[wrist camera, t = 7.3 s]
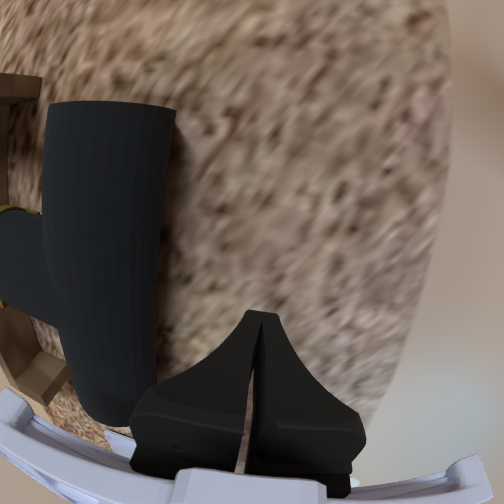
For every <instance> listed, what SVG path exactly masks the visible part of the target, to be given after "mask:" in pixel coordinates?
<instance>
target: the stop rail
mask: <svg viewBox="0 0 504 504" xmlns="http://www.w3.org/2000/svg"><path fill="white" fill-rule="evenodd" d="M41 80H42V77H36V76H28V75H18V74H7V73H0V206H2V205H8V189H7V139H8V124H9V113H10V105H13V104H16V103H20V102H23V101H27V100H31V99H35V98H39V93H40V86H41ZM0 366H1V368H2V370H3V372H4V373H5V375H6V377H7V379H8V381H9V382H10V385H11V386H13V387H14V388H16V389H17V390H19V391H20V392H22V393H24V394H25V395H27V396H28V397H30V398H32V399H33V400H35V401H37V402H38V403H40V404H42V405H44V406H46V407H47V406H48V405H49V403H50V402H51V401H52V399H53V398H54V396H55V395H56V394H57V392H58V391H59V390H60V388H61V387H62V386H63V384H64V383H65V382H66V380H67V379H68V378H69V376H70V372H69V369H68V366H67V363H66V362H65V361H63V360H61V359H59V358H56V357H54V356H52V355H50V354H48V353H46V352H43V351H41V349H40V346H39V343H38V340H37V338H36V335H35V332H34V329H33V326H32V322H31V319H30V316H29V315H28V314H26V313H24V312H22V311H20V310H18V309H16V308H14V307H12V306H10V305H8V306H7V307H6V308H4V309H3V308H1V307H0Z"/></svg>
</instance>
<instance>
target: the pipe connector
mask: <svg viewBox="0 0 504 504" xmlns="http://www.w3.org/2000/svg"><path fill="white" fill-rule="evenodd" d="M176 112H177V111H176V110H173V109H169V108H165V107H160V106H154V105H147V104H139V103H129V102H116V101H71V102H60V103H54V104H50V105H49V107H48V114H47V121H46V129H45V138H44V149H43V165H42V215H40V212H37V211H32V210H28V209H23V208H20V207H16V206H12V205H2V206H0V307H1V308H3V309H4V308H6V307H7V306H8V305H10V306H12V307H14V308H16V309H18V310H20V311H22V312H24V313H26V314H28V315H30V316H32V317H34V318H36V319H38V320H40V321H43V322H45V323H47V324H49V325H51V326H54V327H56V328H57V329H58V333H59V337H60V341H61V345H62V349H63V352H64V356H65V359H66V363H67V366H68V369H69V372H70V375H71V378H72V381H73V384H74V387H75V390H76V393H77V396H78V398H79V401H80V404H81V405H82V407H83V409H84V411H85V412H86V413H87V414H88V415H89V416H90V417H91V418H93V419H94V420H96V421H97V422H99V423H101V424H104V425H108V426H112V427H128V426H129V419H130V417H131V415H132V413H133V411H134V409H135V406H136V404H137V403H138V401H139V400H140V398H141V397H142V395H143V394H144V393H145V391H146V390H147V389H148V388H149V386H151V385H154V384H157V365H156V300H157V274H158V256H159V242H160V230H161V218H162V208H163V199H164V190H165V182H166V174H167V167H168V160H169V153H170V147H171V140H172V134H173V128H174V123H175V117H176Z"/></svg>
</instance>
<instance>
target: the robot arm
mask: <svg viewBox="0 0 504 504" xmlns="http://www.w3.org/2000/svg"><path fill="white" fill-rule="evenodd" d="M253 367H254V373H253V412H252V421H251V428H250V436H249V443H248V449H247V456H246V463H245V469H244V474H240V473H234V471H235V467H236V463H237V458H238V454H239V449H240V445H241V440H242V435H243V430H244V423H245V416H246V406H247V397H248V388H249V383H250V379H251V375H252V371H253ZM129 427H130V429H131V432H132V435H133V438H134V439H132V438H129V437H126V436H124V435H121V434H118V433H116V432H113V431H110V430H107V429H105V431H104V434H105V436H106V438H107V440H108V442H109V444H110V446H111V448H112V450H113V452H111V451H108V450H106V449H103V448H101V447H99V446H96V445H94V444H92V443H90V442H87V441H85V440H83V439H81V438H79V437H77V436H75V435H73V434H71V433H69V432H67V431H65V430H63V429H61V428H59V427H57V426H55V425H54V424H52V423H50V422H48V421H46V420H45V419H43V418H41V417H40V416H38V415H36V414H35V413H34V411H33V409H32V408H31V406H30V405H29V404H28V402H27V401H26V400H25V399H24V398H22V397H21V396H19V395H18V394H16V393H15V392H13V391H12V390H10V389H9V388H5V389H4V390H3V391H2V393H1V394H0V453H1V454H2V455H3V456H4V457H5V458H6V459H7V460H8V461H10V462H11V463H12V464H14V465H15V466H16V467H18V468H19V469H20V470H22V471H23V472H24V473H26V474H27V475H28V476H30V477H31V478H33V479H34V480H36V481H37V482H38V483H40V484H41V485H43V486H44V487H46V488H48V489H49V490H51V491H52V492H54V493H55V494H57V495H58V496H60V497H62V498H63V499H65V500H67V501H69V502H70V503H72V504H484V503H486V502H487V501H488V500H490V499H491V498H493V496H494V495H493V492H492V489H491V486H490V483H489V480H488V477H487V475H486V472H485V469H484V467H483V464H482V461H481V459H480V456H479V454H475V455H472V456H469V457H465V458H463V459H460V460H458V461H456V462H455V463H453V464H452V465H451V466H450V467H449V468H448V469H447V470H446V471H443V472H439V473H435V474H431V475H427V476H423V477H419V478H414V479H410V480H405V481H399V482H394V483H387V484H381V485H373V486H365V487H355V488H351V484H350V476H349V474H351V473H352V463H351V462H352V461H353V460H354V459H355V458H356V457H357V455H358V454H359V453H360V452H361V451H362V450H363V448H364V446H365V444H366V435H365V430H364V427H363V424H362V421H361V419H360V416H359V413H357V412H356V411H354V410H353V409H351V408H350V407H348V406H347V405H345V404H344V403H342V402H341V401H339V400H338V399H337V398H336V397H334V396H333V395H332V394H331V393H329V392H328V391H327V390H326V389H325V388H324V387H323V386H322V385H321V384H320V383H319V382H318V381H317V380H316V379H315V378H314V377H313V376H312V374H311V373H310V372H309V371H308V370H307V368H306V367H305V366H304V364H303V363H302V362H301V360H300V359H299V357H298V355H297V354H296V352H295V351H294V349H293V347H292V345H291V343H290V342H289V340H288V338H287V336H286V334H285V331H284V329H283V327H282V324H281V322H280V319H279V316H278V315H277V314H275V313H268V312H261V311H255V310H247V311H246V312H245V314H244V316H243V318H242V319H241V321H240V322H239V324H238V325H237V327H236V328H235V329H234V330H233V332H232V333H231V334H230V335H229V336H228V337H227V338H226V339H225V340H224V342H223V343H222V344H221V345H220V346H219V347H218V348H216V349H215V350H214V351H213V352H212V353H211V354H209V355H208V356H207V357H206V358H204V359H203V360H201V361H200V362H199V363H197V364H196V365H194V366H193V367H191V368H189V369H188V370H186V371H184V372H182V373H180V374H178V375H176V376H174V377H172V378H170V379H168V380H165V381H162V382H160V383H157V384H154V385H151V386H149V388H148V389H147V390H146V391H145V393H144V394H143V395H142V397H141V398H140V400H139V401H138V403H137V404H136V406H135V409H134V411H133V413H132V415H131V417H130V419H129Z"/></svg>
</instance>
